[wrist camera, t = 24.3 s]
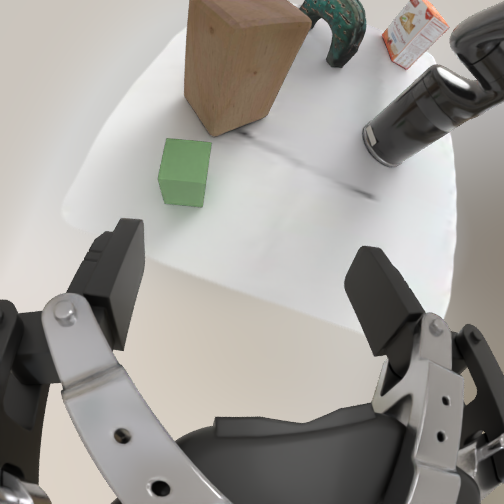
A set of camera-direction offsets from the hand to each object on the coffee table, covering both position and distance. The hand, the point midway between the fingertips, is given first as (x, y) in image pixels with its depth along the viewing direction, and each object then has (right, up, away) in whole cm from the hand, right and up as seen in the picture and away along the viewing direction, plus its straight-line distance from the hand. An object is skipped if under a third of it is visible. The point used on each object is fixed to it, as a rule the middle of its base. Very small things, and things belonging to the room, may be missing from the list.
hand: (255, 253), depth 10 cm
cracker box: (+39, +56, +42) cm, 80 cm away
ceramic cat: (+14, +46, +36) cm, 60 cm away
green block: (-9, +8, +25) cm, 28 cm away
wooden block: (-4, +22, +28) cm, 36 cm away
